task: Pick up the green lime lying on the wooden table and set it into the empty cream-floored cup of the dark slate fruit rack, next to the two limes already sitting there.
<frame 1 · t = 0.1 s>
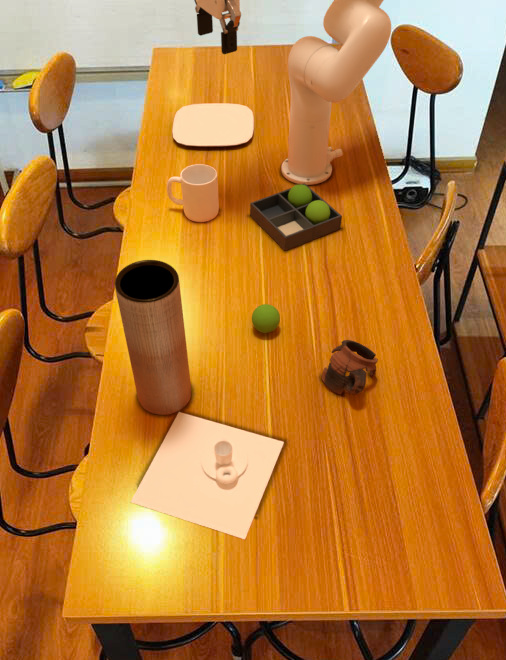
hand: (217, 42, 137), 37 cm above the table, tool pointing down, fingers open, 9 cm apart
lime back left: (299, 197, 160), point 3 cm above the table, touching rack
rack: (294, 222, 159), on the table
vase: (165, 395, 127), on the table
cup: (193, 212, 163), on the table
pottery mug: (349, 382, 129), on the table
lime: (265, 318, 136), point 3 cm above the table
plate: (213, 129, 186), on the table
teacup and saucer: (209, 471, 117), on the table
lime back right: (317, 213, 156), point 3 cm above the table, touching rack
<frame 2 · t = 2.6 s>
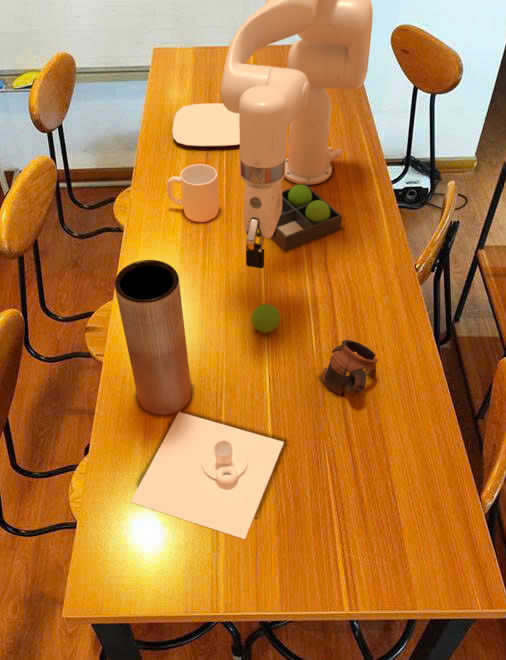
hand: (261, 249, 127), 17 cm above the table, tool pointing down, fingers open, 9 cm apart
nothing on the table moved.
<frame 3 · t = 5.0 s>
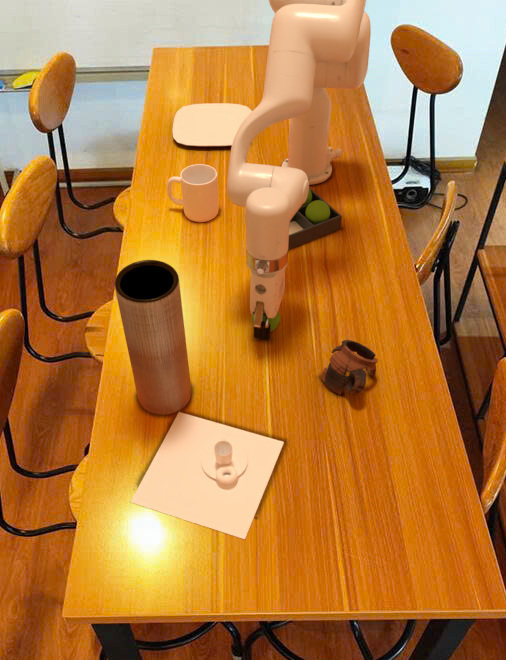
hand: (265, 326, 137), 1 cm above the table, tool pointing down, fingers closed on lime, 5 cm apart
lime: (265, 318, 136), point 3 cm above the table, touching gripper
everything else where it was.
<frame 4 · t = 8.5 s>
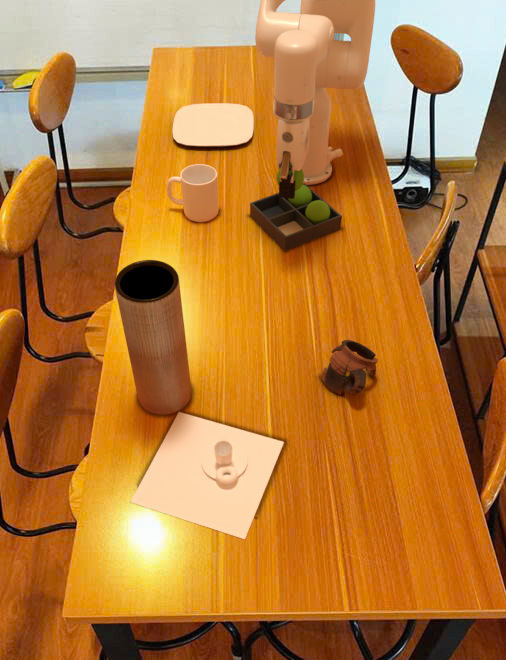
hand: (290, 187, 142), 15 cm above the table, tool pointing down, fingers closed on lime, 5 cm apart
lime: (290, 177, 140), point 17 cm above the table, touching gripper
everything else where it was.
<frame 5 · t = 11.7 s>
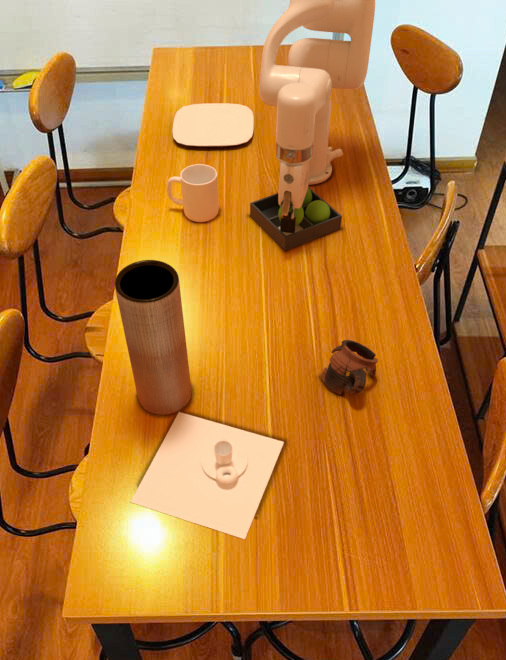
hand: (290, 222, 153), 4 cm above the table, tool pointing down, fingers closed on lime, 5 cm apart
lime: (291, 213, 151), point 6 cm above the table, touching gripper
everything else where it was.
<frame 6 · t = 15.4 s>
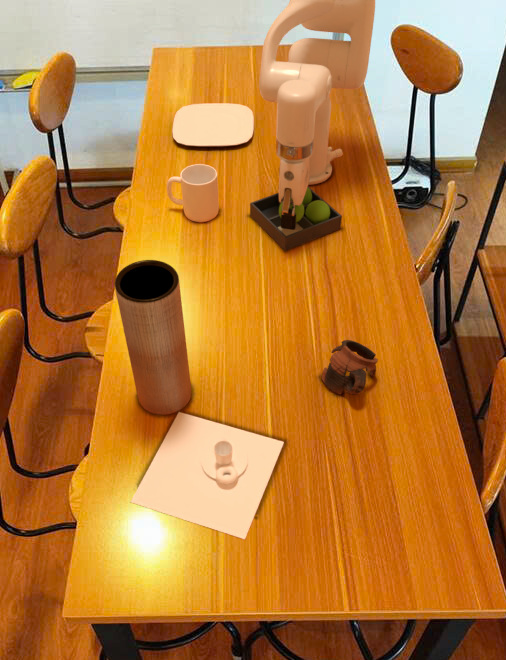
hand: (291, 219, 153), 4 cm above the table, tool pointing down, fingers closed on lime, 5 cm apart
lime: (291, 210, 151), point 7 cm above the table, touching gripper
everything else where it was.
when the fingers open (5 cm above the table, at t = 18.9 s): lime drops 4 cm, resting on rack.
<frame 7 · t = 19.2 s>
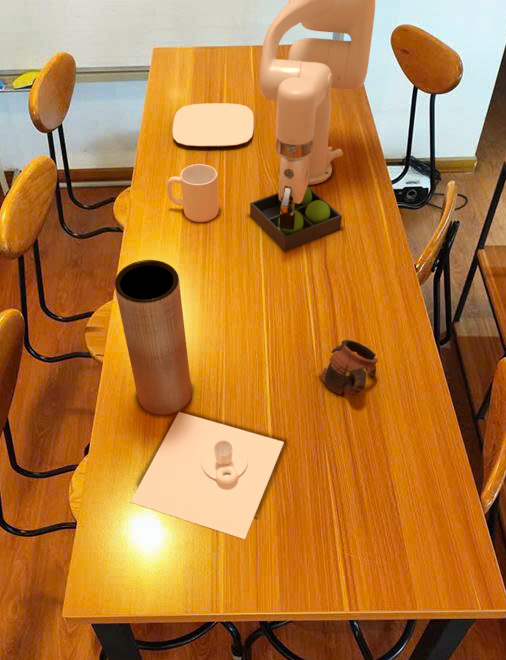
hand: (291, 215, 152), 5 cm above the table, tool pointing down, fingers open, 8 cm apart
lime: (290, 222, 153), point 4 cm above the table, touching rack
everything else where it was.
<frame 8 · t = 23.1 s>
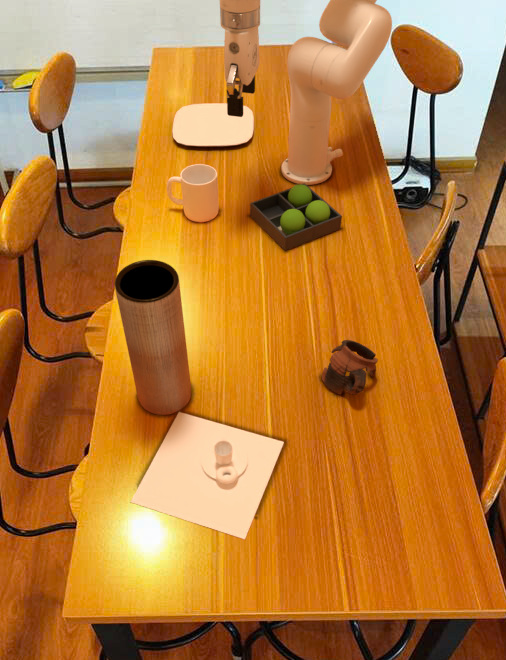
hand: (241, 103, 142), 26 cm above the table, tool pointing down, fingers open, 9 cm apart
lime: (292, 221, 154), point 4 cm above the table, tilted 13°, touching rack
everything else where it was.
at the end: lime 0.6 cm from the target spot on the rack, point 3.6 cm above the rack's base; the gripper is holding nothing; lime back right moved 0.0 cm from its start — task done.
